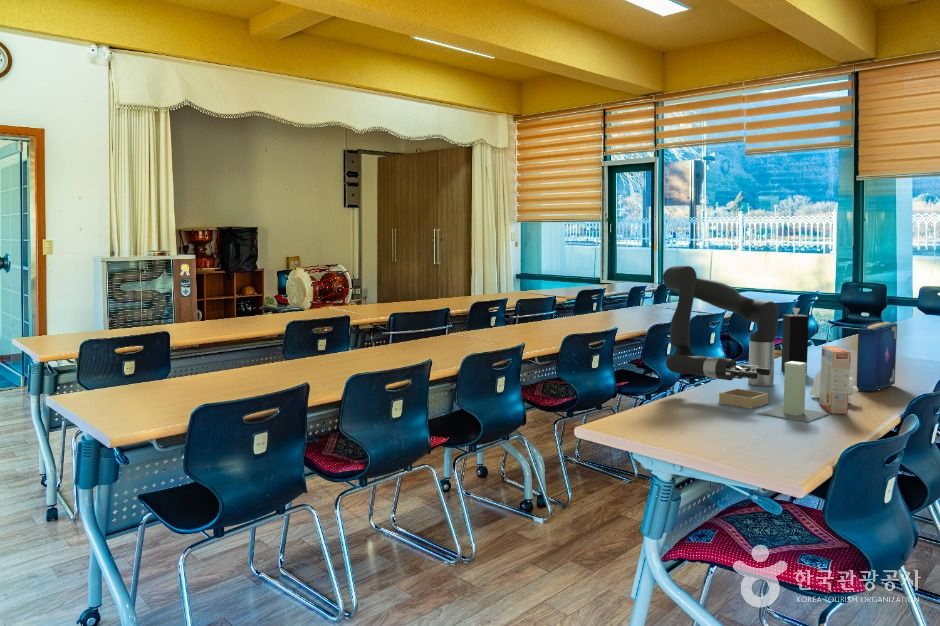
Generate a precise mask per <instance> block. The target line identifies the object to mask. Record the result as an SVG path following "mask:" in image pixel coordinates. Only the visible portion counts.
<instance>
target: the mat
mask: <svg viewBox="0 0 940 626" xmlns="http://www.w3.org/2000/svg"><path fill="white" fill-rule="evenodd" d="M783 408H784V405H780V406H777V407H776V406H775V407H774V408H771V409H768V410H765V411H761V412H758V413H759V415H760V414H761V415H762V416H766V415H767V417H771V416H773V417H772V418H777V417H778V419H784V420H788V419H789V420H790V421H795V422H800V423H805V424H808V423H811V421H812V422H814V421H816V419H817V420H819V419H822V418H824V417H823V416H825V415H827V416H829V415H830V413H829V412H823V411H817V410H811V409H805V410H804V414H801V415H798V416H797V415H791V414H785V413H783ZM828 414H829V415H828ZM821 417H822V418H821ZM825 417H826V416H825ZM818 418H819V419H818Z"/></svg>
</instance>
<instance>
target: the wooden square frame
mask: <svg viewBox="0 0 940 626" xmlns="http://www.w3.org/2000/svg"><path fill="white" fill-rule="evenodd" d="M718 395H719V396H718V403H719V404H723V403H724V405H729V404H730V406H735V405H736V406H735V407H740V406H742V408H746V407H747V409H753V408H754V407H755V408H757V406H758V407H760V405H761V406H764V405H767V404H769V392H768V393H767V392H761V391H755V390H748V389H742V388H733V389H730V390H729V389H728V390H725V391H722V392H719V394H718ZM766 403H767V404H766ZM763 404H764V405H763Z"/></svg>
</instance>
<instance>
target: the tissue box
mask: <svg viewBox="0 0 940 626" xmlns="http://www.w3.org/2000/svg"><path fill="white" fill-rule="evenodd" d="M800 310H801V308H798V307H792V312H793V314H792V313H791V314H782V338H781V339H782V341H781V366H780V367H781V372H782V371H783V372H782V373H784V372H785V363H786V362H790V361H795V362H804V363H807V364H808V348H809V345H808V344H809V322H810V316H809V315H805V314H801V313H800V314H798V313H799V312H800ZM807 374H808V365H807V366H806V375H807Z"/></svg>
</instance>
